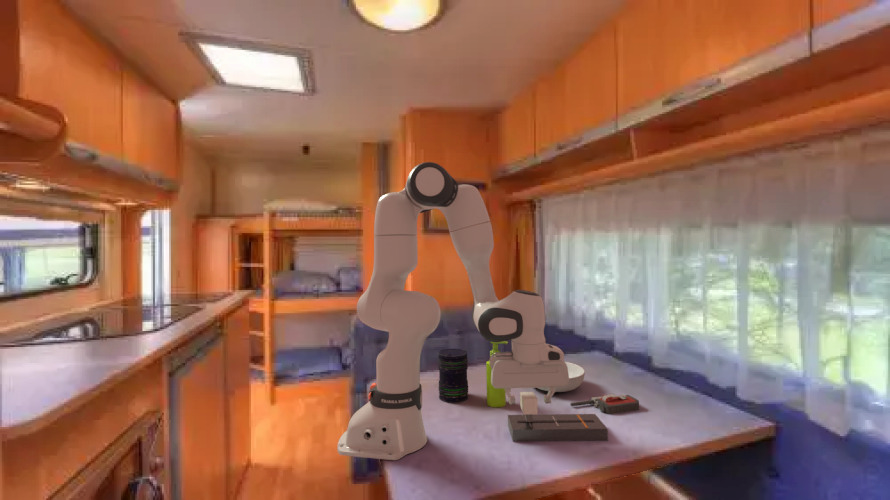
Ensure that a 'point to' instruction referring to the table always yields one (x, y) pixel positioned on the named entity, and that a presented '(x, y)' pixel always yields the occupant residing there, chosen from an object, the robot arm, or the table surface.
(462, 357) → the black ridged cylinder
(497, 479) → the table surface
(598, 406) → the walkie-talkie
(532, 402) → the fader knob
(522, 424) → the fader panel
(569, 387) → the serving bowl
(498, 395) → the soap dispenser
